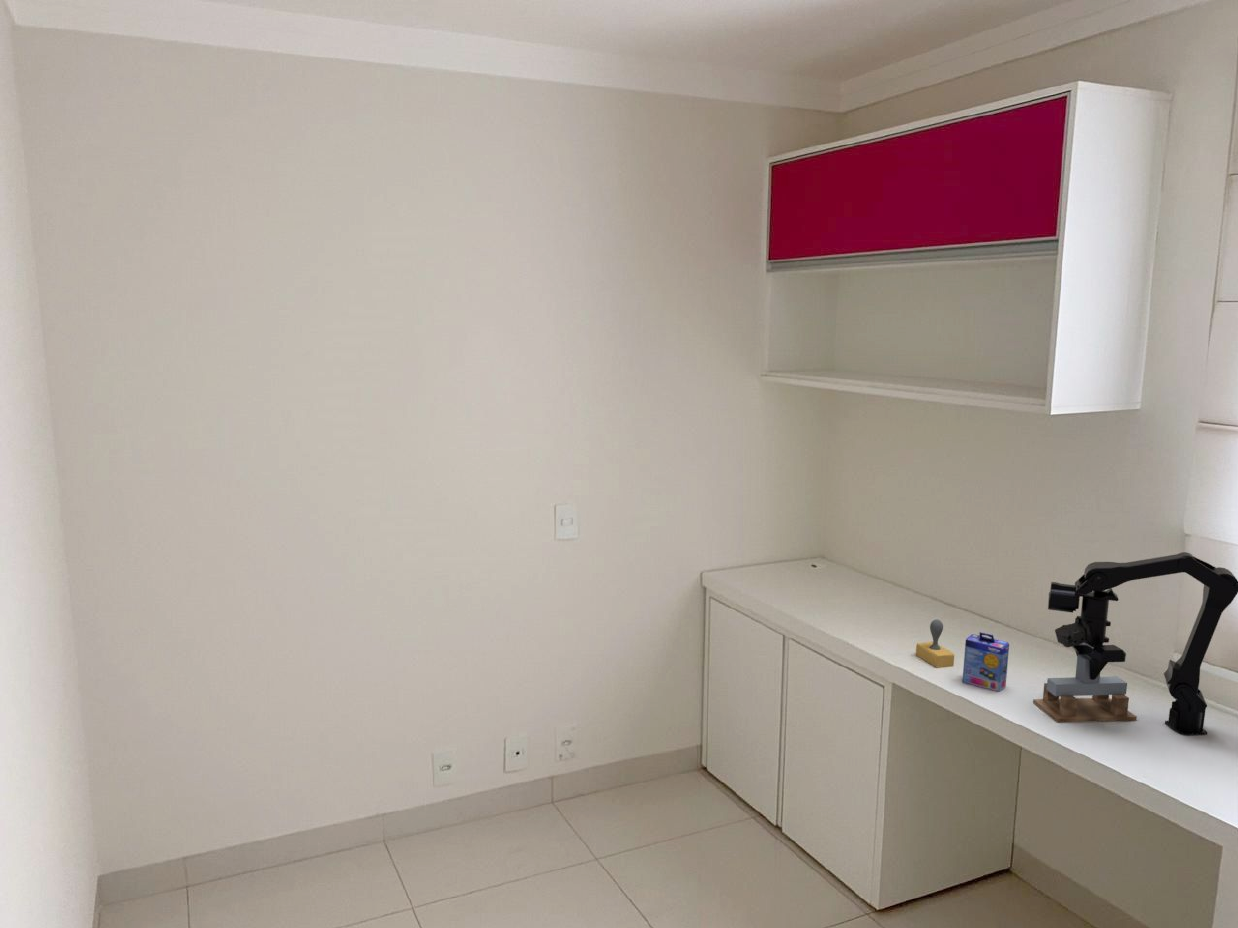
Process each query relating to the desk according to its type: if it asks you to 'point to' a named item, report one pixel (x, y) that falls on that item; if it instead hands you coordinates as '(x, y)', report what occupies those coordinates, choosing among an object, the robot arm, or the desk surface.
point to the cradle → (1085, 707)
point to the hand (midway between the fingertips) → (1087, 676)
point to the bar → (1086, 682)
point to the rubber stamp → (935, 648)
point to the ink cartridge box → (985, 662)
